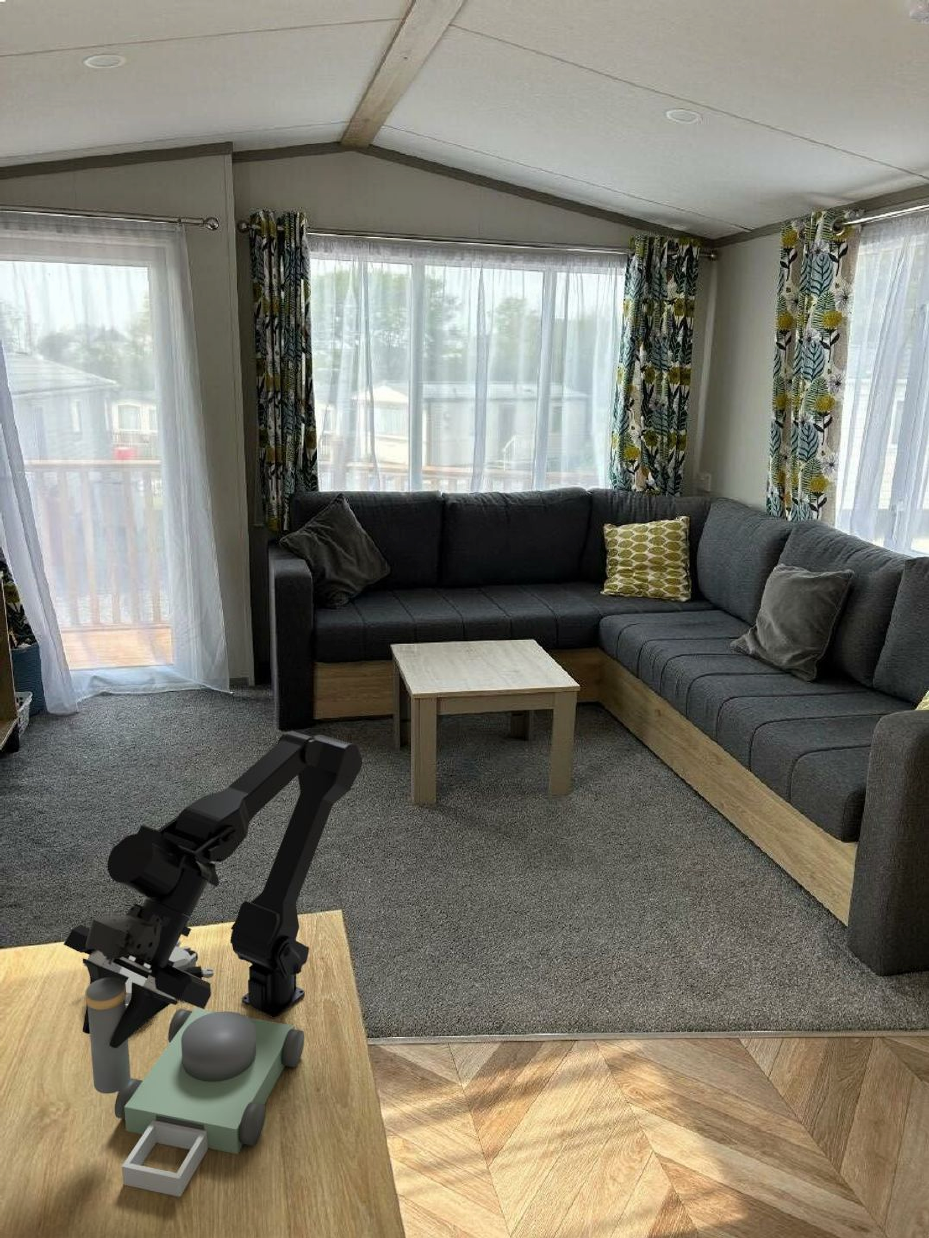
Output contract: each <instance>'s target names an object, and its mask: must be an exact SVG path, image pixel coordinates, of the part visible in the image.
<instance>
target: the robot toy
mask: <svg viewBox="0 0 929 1238" xmlns="http://www.w3.org/2000/svg"><path fill="white" fill-rule="evenodd" d="M181 944H182V942H181V940H180V939H179V940H178V942H177V944H176V946H175V948H174V950H173V952H172V954H171V956H170V958H169V960H170V961H173V962H175V963H174V965H173V967H175V968H177V969H180V970H182V971H184V972H187V973H189V974H191V975H193V976H196V977H198V978H200V979H202V980H203V978H205V979H210V978H213V976H214V970H213V968H212V967H206V968H202V966H201V965H199V966H198V965H197V961H198V959H199V954H198V953H197V952H196V951H195V950H191V949H192V948H191V947H188V946H181ZM180 946H181V947H180ZM129 959H130V960H133V961H135V959H136V958H134V957H132V956H130V957H129ZM83 966H84V967H87V966H86V965H85V964H84V963H83ZM144 966H145V967H147V968H150V965H148V964H146V963H145V964H144ZM119 973H121V974H123V975H125V976H127V977H129V978H128V980H127V981H126V983H125V984H126V997H125V1002H126V1008H127V1006H128V1004H129V1002H130V1000H131V991H132V982H134V983H136V984H139V985H142V986H143V985H144V983H145V981H146V980H147V978H145V977H143V976H141V975H138V974H136V973H134V972H132V971H130V970H128V969H126V968H124V967H122V968H121V970H120V972H119Z"/></svg>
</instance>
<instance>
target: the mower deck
mask: <svg viewBox="0 0 929 1238" xmlns="http://www.w3.org/2000/svg"><path fill="white" fill-rule="evenodd" d="M167 1039H168V1042H169V1044H168V1045H167V1046H166V1048H165V1050H164V1051H163V1052H162V1053H161V1055H160V1056H159V1058H158V1059H157V1060H156V1062H155V1063H154V1065H153V1066H152V1067H151V1069H150V1070H149V1072H148V1073H147V1075H145V1077H144V1079H143V1080H142V1079H137V1078H133V1077H131V1078H130V1082H129V1083H128V1085H127V1086H126V1087H125V1088H123V1089H122V1090H120V1091H118V1092H117V1095H116V1099H115V1103H114V1115H115V1117H116V1118H117V1119H121V1120H124V1121H125V1131H126V1132H129V1133H132V1134H133V1133H134V1134H139V1135H142V1136H141V1137H140V1138H139V1140H138V1141H137V1143H136V1144H135V1145H134V1148H133V1149H132V1150H131V1152H130V1154H129V1155H128V1156H127V1157H126V1160H125V1161H124V1162H123V1164H122V1165H121V1173H122V1174H121V1175H122V1185H124V1186H128V1187H132V1188H133V1187H134V1188H138V1189H141V1190H146V1191H151V1192H156V1193H160V1194H164V1195H170V1196H175V1197H179V1198H181V1196H182V1194H183V1192H184V1191H185V1189H186V1187H187V1186H188V1184H189V1182H190V1181H191V1179H192V1177H193V1175H194V1174H195V1172H196V1170H197V1169H198V1167H199V1165H200V1163H201V1162H202V1160H203V1158H204V1157H205V1154H206V1153H207V1151H208V1149H211V1150H215V1151H221V1152H226V1153H230V1154H236V1155H238V1154H239V1152H240V1150H241V1149H242V1146H243V1145H248V1146H252V1147H253V1146H255V1145H256V1144H257V1143H258V1141H259V1139H260V1138H261V1135H262V1132H263V1128H264V1124H265V1119H266V1107H265V1103H266V1101H267V1100H268V1098H269V1097H270V1094H271V1092H272V1090H273V1089H274V1087H275V1085H276V1083H277V1081H278V1079H279V1078H280V1076H281V1074H282V1071H283V1070H284V1068H285V1067H290V1068H296V1067H297V1066H298V1064H299V1063H300V1060H301V1058H302V1055H303V1051H304V1045H305V1032H304V1031H303V1030H299V1029H296V1028H295V1025H292V1024H286V1023H281V1022H276V1021H270V1020H265V1019H259V1018H253V1017H248V1016H246V1015H244V1014H242V1013H239V1012H235V1011H215V1010H211V1009H210V1010H209V1009H202V1008H199V1007H195V1008H193V1009H192V1010H190V1009H184V1008H179V1009H177V1010H176V1011H175V1012H174V1014H173V1016H172V1018H171V1021H170V1023H169V1027H168V1035H167ZM157 1143H158V1144H162V1145H167V1146H172V1147H176V1148H181V1149H184V1150H185V1149H186V1150H189V1152H188V1153H187V1155H186V1156H185V1158H184V1160H183V1162H182V1163H181V1165H180V1167H179V1169H178V1170H177V1172H172V1171H167V1170H163V1169H159V1168H154V1167H150V1166H149V1167H148V1166H145V1165H143V1163H144V1162H145V1161H146V1159H147V1157H148V1155H150V1153H151V1151H152V1149H153V1148H154V1146H155V1145H156V1144H157Z"/></svg>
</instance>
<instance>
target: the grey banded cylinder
mask: <svg viewBox="0 0 929 1238" xmlns="http://www.w3.org/2000/svg"><path fill="white" fill-rule="evenodd" d="M84 995H85V1004H86V1006H87V1005H88V1017H89V1029H90V1034H89V1037H90V1039H89V1042H90V1051H91V1065H92V1076H93V1087H94V1089H95V1090H96V1091H97V1092H98V1093H101V1094H107V1095H108V1094H115V1093H118V1092H119V1091H120V1090H122V1089H123V1088H125V1087H126V1086H127V1085H128V1083H129V1082H130V1078H132V1077H131V1067H130V1066H131V1065H130V1049H129V1038H128V1039H127V1040H126V1041H125V1042H123V1043H122V1044H121V1045H120V1046H119V1047H118V1048H112V1047H110V1042H111V1039H112V1037H113V1034H114V1032H115V1030H116V1028H117V1026H118V1024H119V1022H120V1020H121V1018H122V1016H123V1014H124V1012H125V1010H126V1002H125V997H126V984H125V982H124V981H123V980H121V979H119V978H113V977H109V978H103V979H99V980H97V981H95V982H93V983H92V984H90V983H89V984H88V986H87V987H86V989H85V993H84Z"/></svg>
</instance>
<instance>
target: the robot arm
mask: <svg viewBox="0 0 929 1238" xmlns="http://www.w3.org/2000/svg"><path fill="white" fill-rule="evenodd" d="M360 753H361V752H360V749H359V747H358V746H357V745H356V744H354V743H350V742H348V741H343V740H339V739H336V738H333V737H329V736H326V735H322V734H317V735H315V736H311V735H307V734H304V733H301V732H296V731H292V730H291V731H286V732H284V733H282V734H281V736H280V737H279V739H278V741H277V743H276V744H275V745H274V746H273V747H272V748H270V749H269V750H268V752H266V753H265V754H264V755H262V757H260V758H259V759H258V760H257V761H256V762H255V763H254V764H253V765H251V766H250V767H249V768H248V769H247V770H246V771H245V772H244V773H242V774H241V775H240V776H239V777H238V778H236V780H234V781H233V782H232V783H231V784H230V785H229V786H227V787H226V788H224V789H222V790H221V791H217V792H214V793H211V794H207V795H203V796H202V797H200V798H199V799H197V800H195V801H193V802H192V803H190V804H189V805H188V806H186V807H185V808H183V809H182V810H181V811H180V812H179V814H178V815H176V816H175V817H174V818H173V819H171V820H170V821H169V822H167V823H166V824H164V825H163V826H161V827H160V828H158V829H156V828H153V827H150V826H148V825H145V824H142V825H140V827H139V829H138V831H137V833H134V834H129V835H127V836H126V837H124V838H122V840H120V841H119V842H118V844H116V845H114V846H113V848H112V850H111V851H110V854H109V856H108V859H107V867H106V868H107V873H108V875H109V877H110V878H111V879H112V880H113V881H115V882H116V883H119V884H120V885H122V886H124V887H126V888H128V889H130V890H132V891H134V892H136V893H137V894H140V895H142V896H143V897H145V898H144V900H143V902H142V904H141V905H140V904H138V903H136V902H135V903H134V904H133V905H132V906H131V907H130V908H129V910H128V911H127V913H126V915H120V914H119V915H118V914H117V915H116V914H115V915H105V916H95V917H93V918H92V920H91V921H92V922H91V924H90V927H89V926H86V925H83V924H81V923H79V925H77V926H76V927H73V928H72V929H71V930H70V932H69V933H68V935H67V937H66V939H65V940H64V942H63V945H64V946H65V947H68V948H70V949H72V950H73V951H76V952H79V953H81V954H83V953H84V954H86V955H88V958H85V957H82V964H83V965H84V964H85V965H86V966H85V967H86V968H87V972H88V974H89V985H90V984H92V983H93V982H95V981H97V980H99V979H103V978H109V977H113V978H119V979H121V980H123V981H124V982H125V983H126V981H127V980H128V978H129V977H127V976H125V975H123V974H121V973H119V972H120V970H121V968H122V967H124V968H126V969H128V970H130V971H132V972H134V973H136V974H138V975H141V976H143V977H145V978H147V980H146V981H145V983H144V985H143V986H142V985H139V984H136V983H134V982H132V991H131V1000H130V1002H129V1004H128V1006H127V1008H126V1010H125V1012H124V1014H123V1016H122V1018H121V1020H120V1022H119V1024H118V1026H117V1028H116V1030H115V1032H114V1034H113V1037H112V1039H111V1042H110V1047H112V1048H118V1047H119V1046H120V1045H121V1044H122V1043H123V1042H125V1041H126V1040H127V1039H128V1040H129V1038H130V1037H131V1036H133V1035H134V1034H135V1033H136V1032H137V1031H138V1030H139V1029H140V1028H141V1027H143V1026H144V1025H145V1024H146V1023H147V1022H148V1021H150V1020H151V1019H152V1018H153V1017H155V1016H156V1015H157V1014H159V1013H161V1012H162V1011H163V1010H165V1008H167V1007H168V1006H170V1005H174V1006H177V1004H178V1003H179V1001H181V1002H184V1003H186V1004H189V1005H192V1006H194V1007H196V1008H199V1009H204V1010H206V1009H205V1008H206V1007H207V1004H208V1003H209V1000H210V998H211V996H212V993H211V992H212V991H211V990H212V989H211V983H210V982H208V981H206V980H204V979H203V978H202V979H200V978H198V977H196V976H193V975H191V974H189V973H187V972H184V971H182V970H180V969H177V968H175V967H173V965H174V963H175V962H173V961H170V960H169V958H170V956H171V954H172V952H173V950H174V948H175V946H176V944H177V942H178V940H179V941H180V938H181V936H185V937H187V938H188V936H189V935H190V933H191V931H192V928H191V927H189V926H187V925H188V922H189V921H190V918H191V917H192V915H193V912H194V910H195V908H196V906H197V904H198V903H199V901H200V898H201V897H202V895H203V892H204V890H205V889H206V886H207V884H208V885H211V886H213V887H218V886H219V884H220V881H219V875H218V873H217V872H216V871H217V870H216V864H215V862H216V863H217V862H218V863H223V862H225V861H226V860H228V858H230V857H231V856H232V855H233V853H234V852H235V851H236V850H237V849H238V848H239V846H240V845H241V844H242V843H243V842H244V840H245V839H246V838H247V836H248V831H249V827H250V822H251V821H252V820H253V819H254V817H255V816H256V815H257V814H258V813H259V812H260V811H261V810H262V809H263V808H264V807H265V806H266V805H267V804H269V803H270V802H271V801H272V799H274V798H275V797H276V796H277V795H278V794H279V793H280V792H282V790H283V789H284V788H285V787H286V786H288V784H290V782H292V781H293V780H294V779H295V778H296V777H297V782H298V786H299V787H298V788H299V794H298V797H297V800H296V803H295V805H294V808H293V811H292V813H291V816H290V818H289V821H288V824H287V826H286V829H285V832H284V834H283V836H282V839H281V842H280V845H279V847H278V850H277V853H276V855H275V858H274V859H273V863H272V865H271V868H270V870H269V873H268V875H267V878H266V881H265V884H264V887H263V889H262V891H261V892H260V893H259V894H258V895H257V896H256V897H254V898H253V899H252V900H251V901H248V900H244V901H243V902H242V903H241V904H240V906H239V911H238V913H237V916H236V919H235V921H234V923H233V924H232V925H231V928H230V929H231V933H230V939H229V940H230V941H229V942H230V944H231V947H232V951H233V952H234V953H235V954H236V956H237V957H238V959H239V960H241V961H245V962H247V963H249V964H251V965H250V966H249V967H248V976H249V977H248V978H249V979H248V980H247V993H246V994H244V995H243V996H242V997H241V1002H242V1003H243V1004H245V1005H246V1006H249V1007H251V1008H253V1009H255V1010H257V1011H258V1012H260V1013H262V1014H265V1015H267V1016H268V1017H270V1018H273V1019H275V1018H276V1019H277V1018H278V1017H280V1015H282V1014H284V1013H285V1012H286V1011H287V1010H288V1009H290V1007H292V1006H293V1005H294V1004H295V1003H296V1002H298V1001H299V1000H300V999H302V998H303V997H304V996H306V995H305V993H306V991H305V990H304V989H303V988H301V987H299V986H297V975H299V974H301V973H302V968H303V966H304V965H305V964H306V963H307V962H308V961H307V960H308V958H309V952H310V948H309V946H306V944H305V945H304V944H303V943H302V942H299V941H297V936H298V933H299V929H300V921H299V914H298V908H297V902H298V899H299V896H300V893H301V891H302V888H303V886H304V883H305V880H306V878H307V876H308V873H309V870H310V867H311V864H312V861H313V860H314V857H315V854H316V852H317V851H316V850H317V849H318V846H319V843H320V840H321V837H322V835H323V832H324V830H325V827H326V824H327V823H328V819H329V817H330V814H331V811H332V808H333V806H334V804H336V803H337V802H338V801H339V800H340V799H342V798H343V797H344V796H345V795H346V794H347V793H348V792H350V790H351V789H352V787H353V784H354V782H355V781H356V779H357V776H358V775H359V774H360V772H361V769H362V766H363V757H362V755H361V754H360ZM212 862H214V863H212ZM130 956H132V957H134V958H136V959H135V961H133V960H130V959H129V957H130ZM145 963H146V964H148V965H150V968H147V967H145V966H144V964H145ZM85 1008H86V1009H85V1013H84V1019H83V1024H82V1029H81V1030H82V1031H81V1032H83V1033H84V1034H87V1035H90V1029H89V1017H88V1005H87V1004H86V1007H85Z"/></svg>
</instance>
